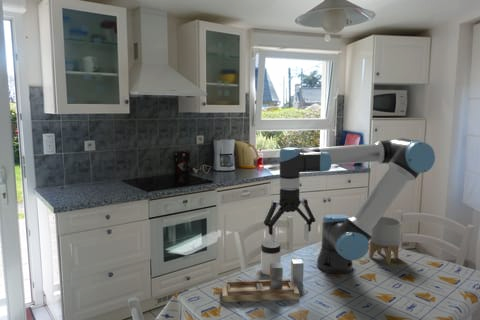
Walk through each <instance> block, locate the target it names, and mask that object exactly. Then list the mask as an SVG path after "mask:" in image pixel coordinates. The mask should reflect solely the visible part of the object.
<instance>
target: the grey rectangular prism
mask: <svg viewBox="0 0 480 320" xmlns="http://www.w3.org/2000/svg"><path fill="white" fill-rule="evenodd" d="M304 268H305V267H304V262H303V259H301V258H296V259H295V258H294V259H293V258H291V260H290V282H291V283H295V284H296V286H303V285H304Z"/></svg>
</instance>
